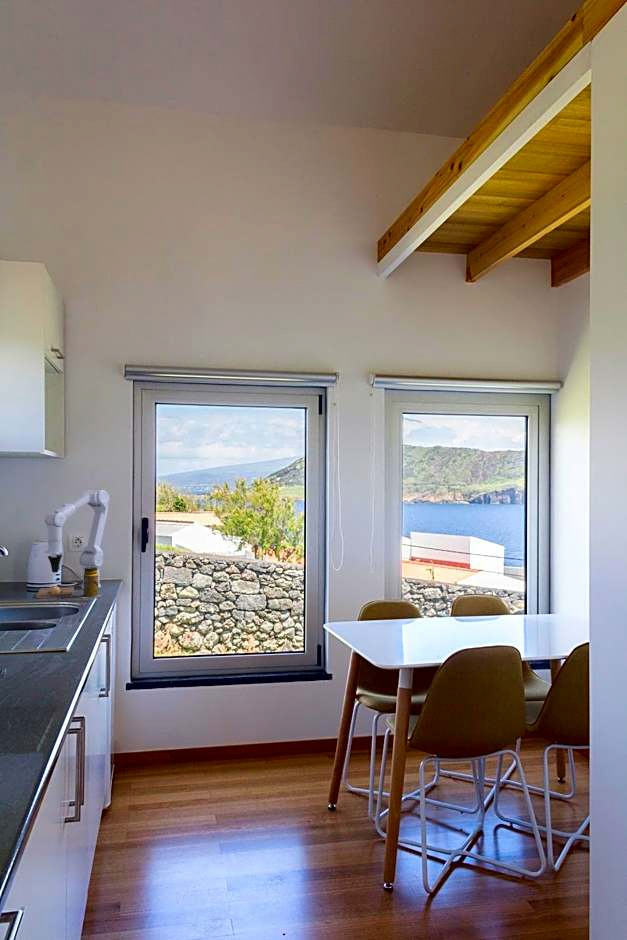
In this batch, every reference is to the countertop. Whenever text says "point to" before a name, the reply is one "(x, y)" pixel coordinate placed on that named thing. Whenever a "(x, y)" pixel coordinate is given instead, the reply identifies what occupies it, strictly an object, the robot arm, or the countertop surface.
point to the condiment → (90, 583)
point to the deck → (47, 594)
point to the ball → (55, 590)
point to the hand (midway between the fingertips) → (55, 572)
